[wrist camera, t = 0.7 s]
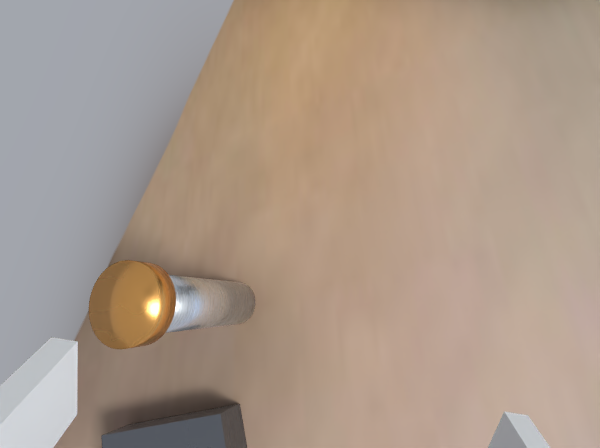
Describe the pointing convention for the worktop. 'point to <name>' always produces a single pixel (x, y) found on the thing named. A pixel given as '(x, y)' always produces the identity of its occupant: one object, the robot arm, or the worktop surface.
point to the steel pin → (161, 304)
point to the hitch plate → (183, 431)
